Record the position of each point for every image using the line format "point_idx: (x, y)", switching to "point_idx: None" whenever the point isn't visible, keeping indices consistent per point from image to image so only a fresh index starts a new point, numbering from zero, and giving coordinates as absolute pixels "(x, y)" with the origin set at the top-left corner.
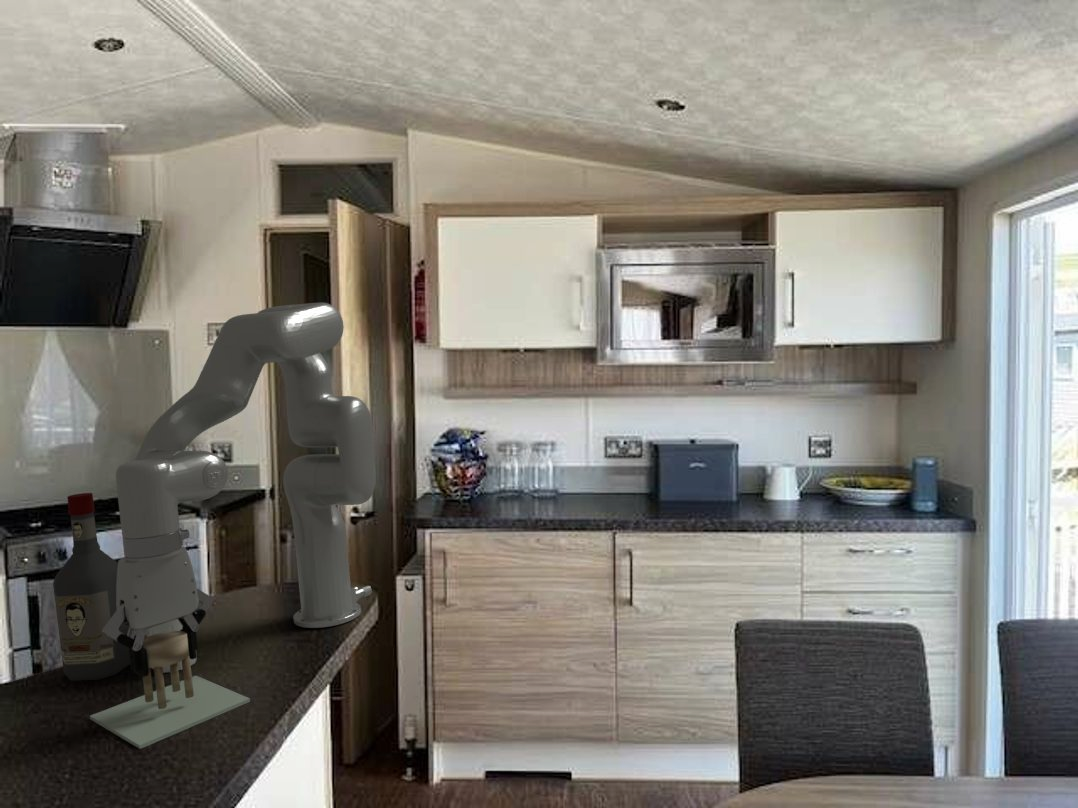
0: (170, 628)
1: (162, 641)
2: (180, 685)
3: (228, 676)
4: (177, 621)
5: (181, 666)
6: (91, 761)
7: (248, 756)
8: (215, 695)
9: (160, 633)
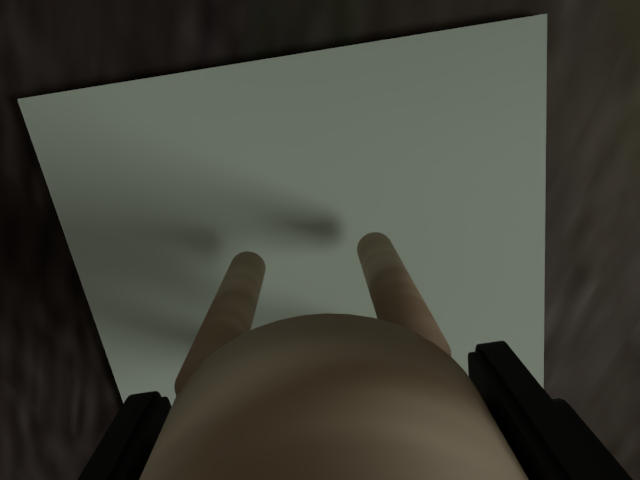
0: None
1: None
2: (438, 87)
3: (637, 133)
4: None
5: None
6: (24, 459)
7: None
8: (482, 330)
9: (384, 463)
